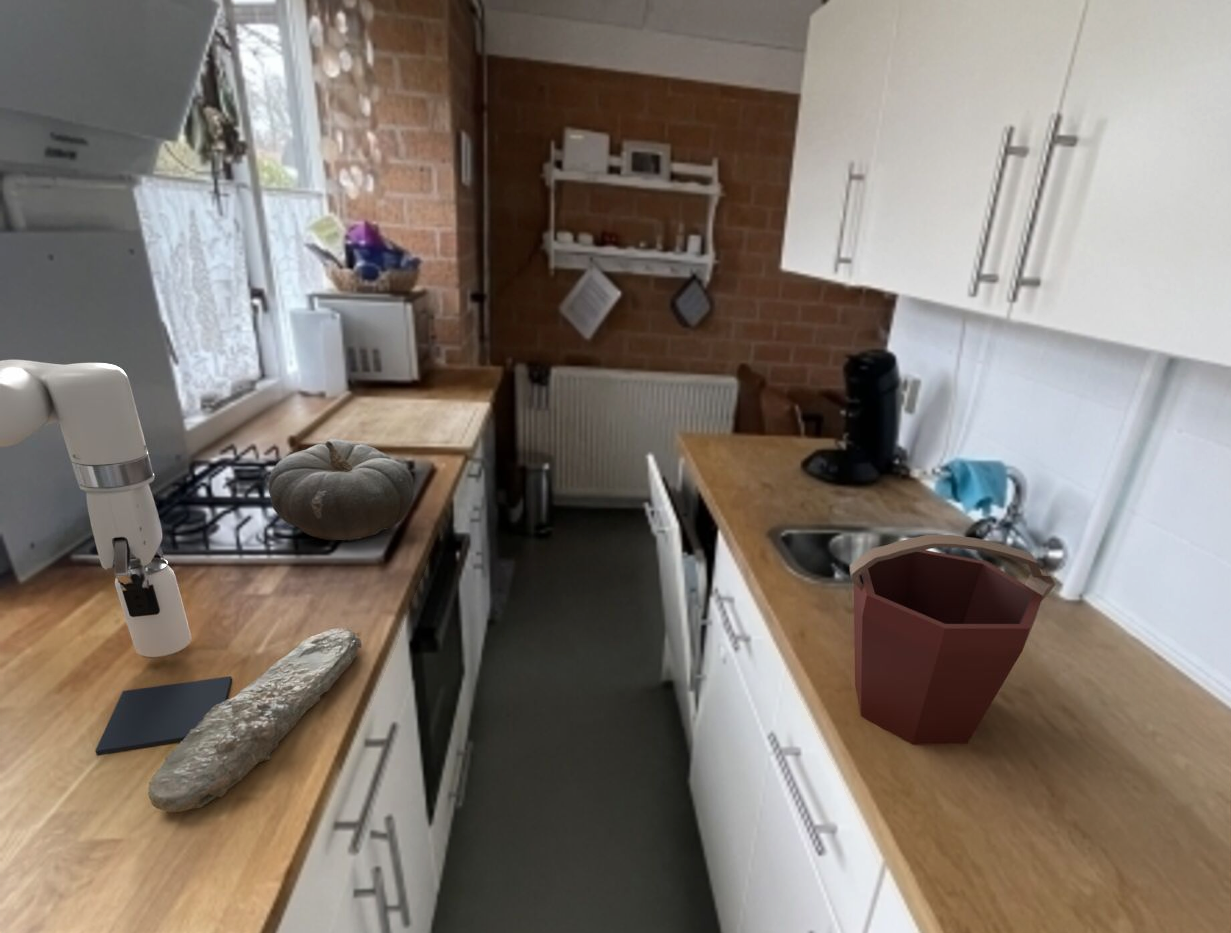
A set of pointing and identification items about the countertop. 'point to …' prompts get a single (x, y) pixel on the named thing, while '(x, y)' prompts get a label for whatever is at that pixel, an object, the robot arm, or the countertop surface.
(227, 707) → the long grey stone
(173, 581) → the can
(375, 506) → the gourd
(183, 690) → the mat
